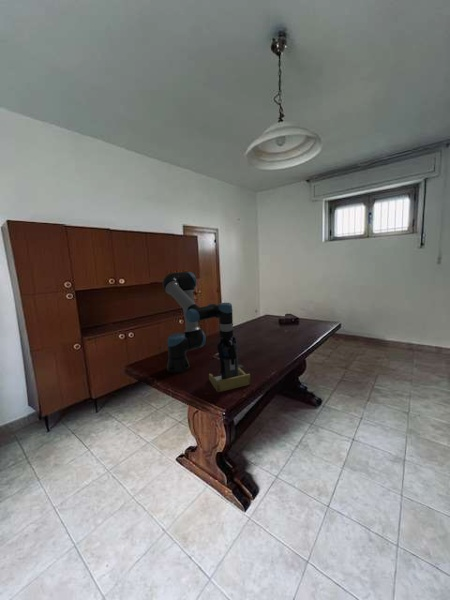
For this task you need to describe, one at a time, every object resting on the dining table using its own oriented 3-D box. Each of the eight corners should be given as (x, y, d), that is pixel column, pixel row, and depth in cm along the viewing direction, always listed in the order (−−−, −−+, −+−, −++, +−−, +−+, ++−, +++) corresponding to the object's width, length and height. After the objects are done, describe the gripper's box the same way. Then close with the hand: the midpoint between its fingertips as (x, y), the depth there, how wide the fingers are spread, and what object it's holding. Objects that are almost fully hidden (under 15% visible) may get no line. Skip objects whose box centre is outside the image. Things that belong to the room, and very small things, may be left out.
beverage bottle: (214, 381, 146) (212, 340, 142) (231, 373, 154) (229, 334, 150) (226, 387, 138) (223, 344, 134) (243, 378, 147) (241, 338, 143)
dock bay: (217, 392, 135) (217, 382, 134) (209, 380, 150) (208, 370, 149) (250, 384, 142) (250, 374, 141) (239, 373, 157) (239, 364, 156)
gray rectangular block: (235, 373, 158) (235, 368, 157) (232, 370, 161) (232, 366, 161) (243, 370, 160) (243, 366, 160) (240, 368, 164) (240, 364, 163)
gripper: (241, 334, 131) (242, 372, 135) (224, 324, 154) (226, 356, 158) (228, 337, 129) (230, 375, 132) (213, 325, 152) (215, 358, 155)
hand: (228, 364), depth 145 cm, fingers open, 13 cm apart
